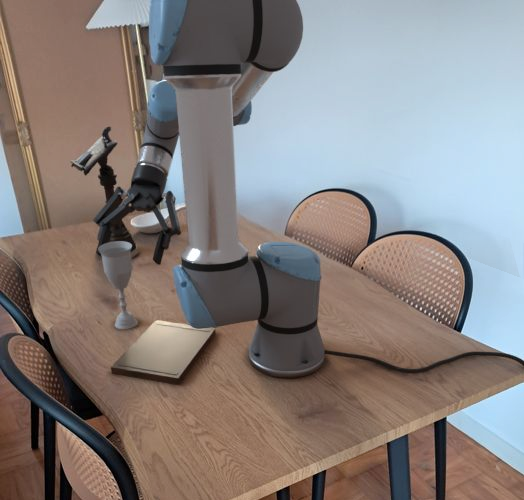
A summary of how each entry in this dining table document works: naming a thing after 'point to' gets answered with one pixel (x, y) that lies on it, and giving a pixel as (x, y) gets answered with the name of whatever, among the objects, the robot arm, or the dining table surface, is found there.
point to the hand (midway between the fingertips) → (127, 259)
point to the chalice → (119, 276)
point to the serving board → (164, 352)
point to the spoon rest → (152, 220)
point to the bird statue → (105, 181)
